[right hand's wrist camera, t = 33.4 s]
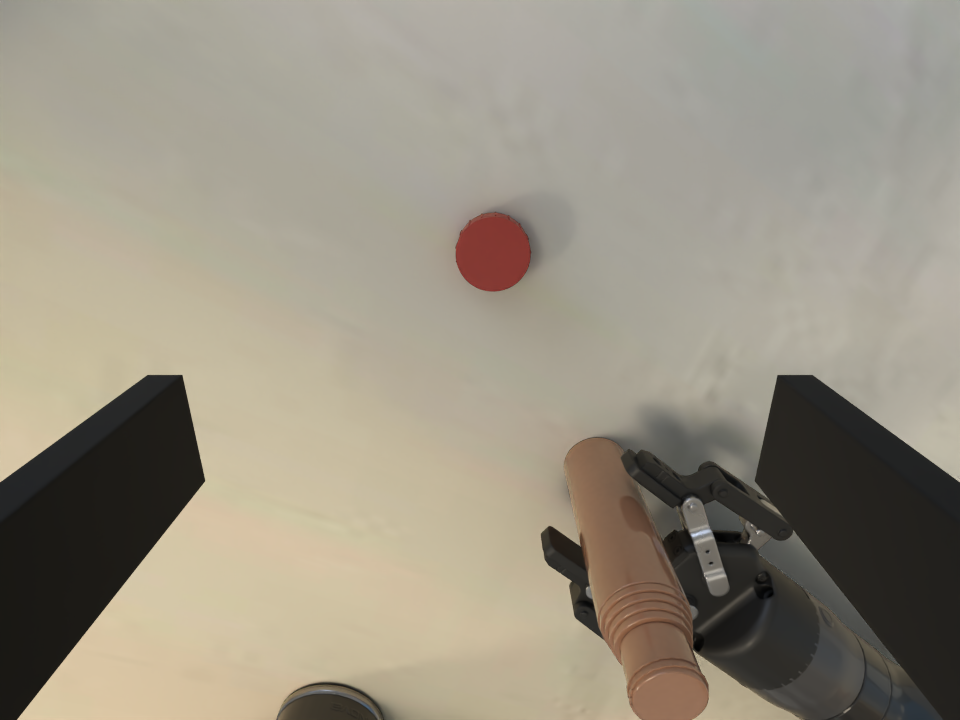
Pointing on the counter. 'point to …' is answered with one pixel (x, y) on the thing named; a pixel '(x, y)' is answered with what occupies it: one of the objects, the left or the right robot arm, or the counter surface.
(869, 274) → the counter surface
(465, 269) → the cap
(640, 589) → the bottle
